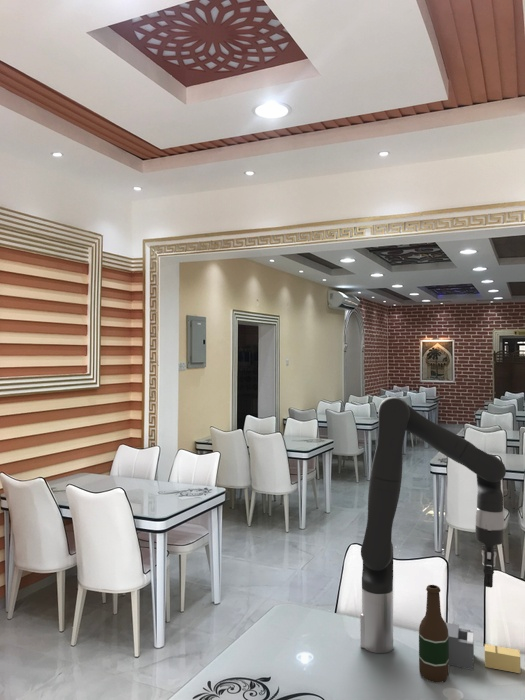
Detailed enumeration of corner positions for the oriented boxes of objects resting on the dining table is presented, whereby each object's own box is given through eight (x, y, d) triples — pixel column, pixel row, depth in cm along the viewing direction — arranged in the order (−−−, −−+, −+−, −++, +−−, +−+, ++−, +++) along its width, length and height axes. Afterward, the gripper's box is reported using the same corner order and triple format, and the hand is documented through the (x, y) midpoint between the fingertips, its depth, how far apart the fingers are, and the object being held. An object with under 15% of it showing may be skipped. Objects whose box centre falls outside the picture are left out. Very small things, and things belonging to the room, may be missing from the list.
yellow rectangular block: (485, 666, 153) (484, 650, 153) (484, 659, 157) (484, 643, 157) (520, 673, 150) (520, 656, 150) (519, 665, 153) (519, 649, 153)
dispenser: (428, 661, 156) (428, 632, 157) (430, 646, 164) (430, 620, 164) (473, 669, 152) (473, 640, 152) (473, 654, 160) (473, 627, 160)
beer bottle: (450, 685, 145) (450, 593, 145) (420, 681, 146) (419, 591, 147) (447, 669, 152) (446, 582, 153) (418, 665, 154) (417, 579, 155)
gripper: (476, 516, 166) (474, 570, 166) (475, 529, 153) (473, 588, 153) (503, 520, 164) (501, 574, 163) (504, 533, 150) (503, 593, 150)
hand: (488, 581), depth 158 cm, fingers open, 8 cm apart
